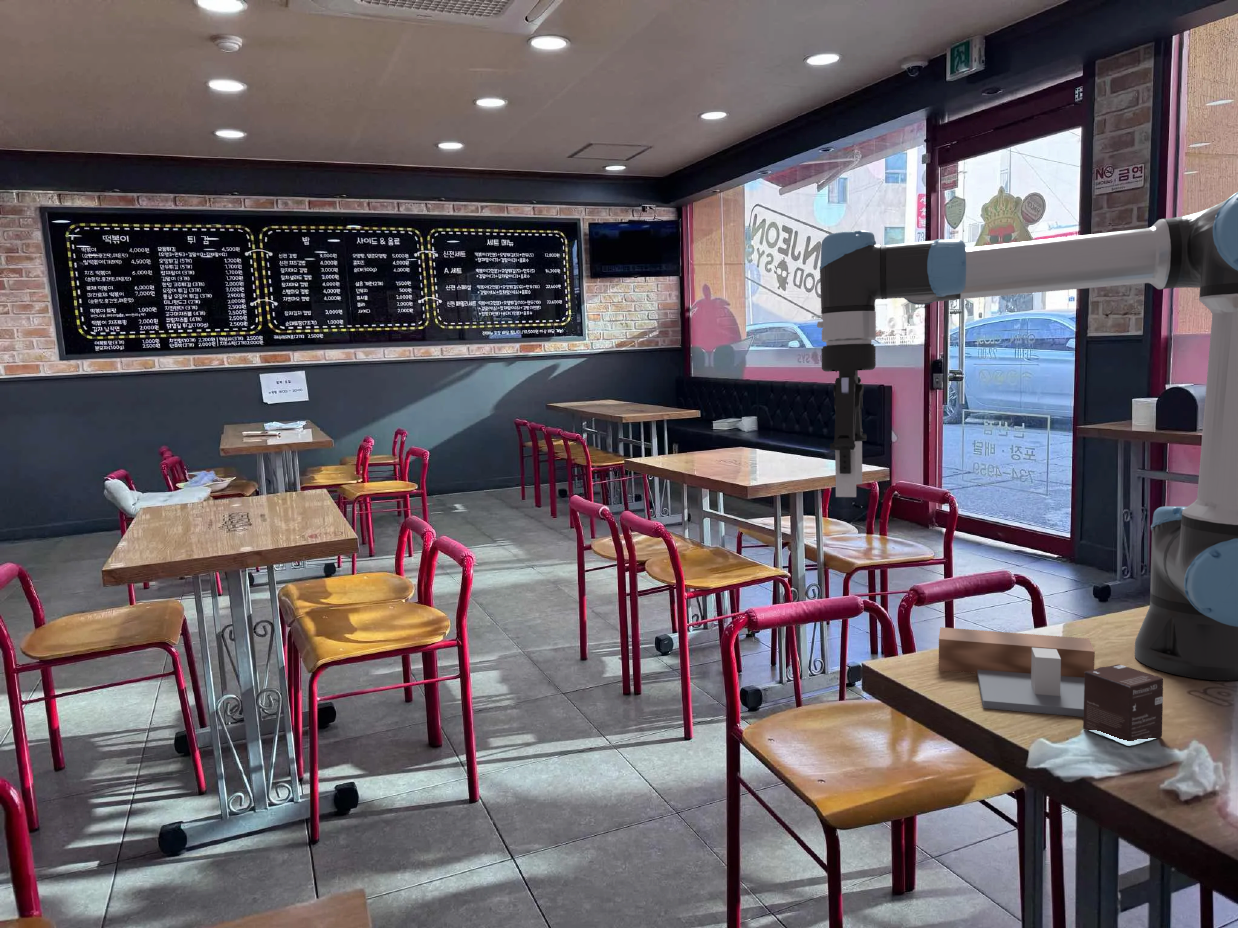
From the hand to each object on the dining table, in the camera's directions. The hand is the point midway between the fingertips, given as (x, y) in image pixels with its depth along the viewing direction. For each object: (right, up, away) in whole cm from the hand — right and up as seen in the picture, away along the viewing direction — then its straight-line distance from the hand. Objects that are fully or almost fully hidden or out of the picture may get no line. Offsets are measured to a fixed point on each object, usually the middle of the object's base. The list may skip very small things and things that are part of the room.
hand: (849, 490), depth 126 cm
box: (+26, -29, -23) cm, 45 cm away
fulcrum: (+23, -27, -11) cm, 37 cm away
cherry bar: (+23, -26, -1) cm, 35 cm away
